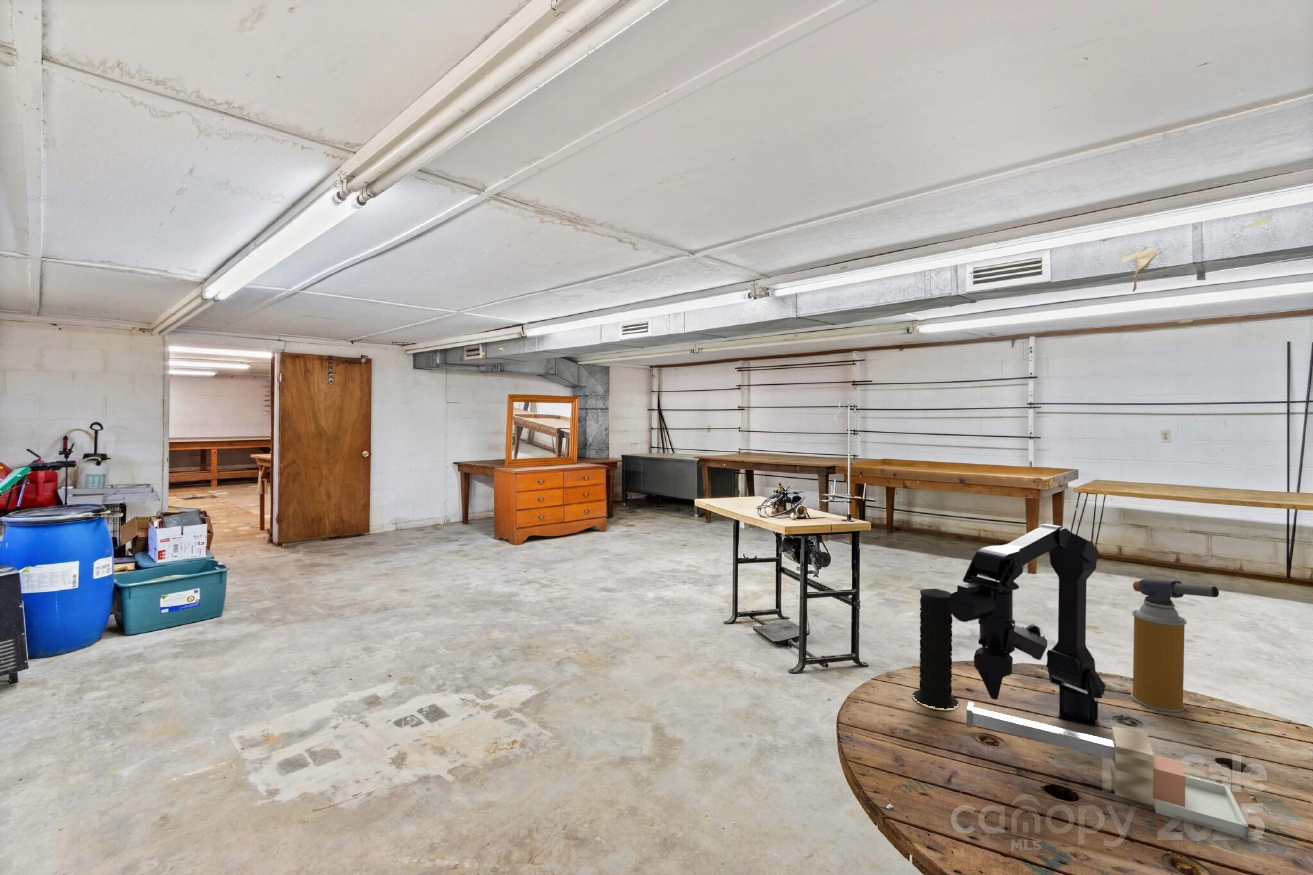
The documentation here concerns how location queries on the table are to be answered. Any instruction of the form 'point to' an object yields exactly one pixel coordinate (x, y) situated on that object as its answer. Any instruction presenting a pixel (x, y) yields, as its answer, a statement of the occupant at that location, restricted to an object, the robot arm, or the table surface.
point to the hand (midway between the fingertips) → (996, 689)
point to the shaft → (1040, 732)
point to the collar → (1169, 781)
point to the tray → (1207, 807)
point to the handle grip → (935, 650)
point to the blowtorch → (1161, 643)
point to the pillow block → (1132, 765)
